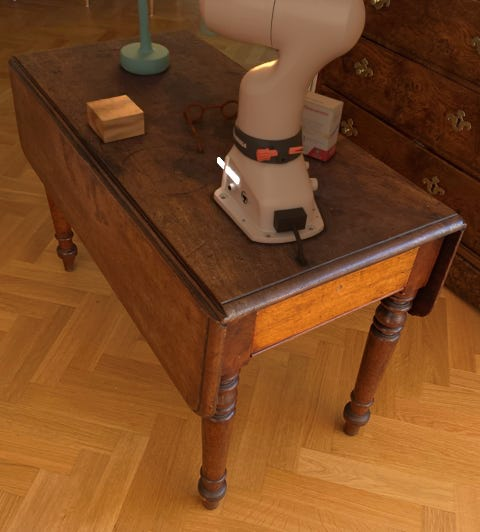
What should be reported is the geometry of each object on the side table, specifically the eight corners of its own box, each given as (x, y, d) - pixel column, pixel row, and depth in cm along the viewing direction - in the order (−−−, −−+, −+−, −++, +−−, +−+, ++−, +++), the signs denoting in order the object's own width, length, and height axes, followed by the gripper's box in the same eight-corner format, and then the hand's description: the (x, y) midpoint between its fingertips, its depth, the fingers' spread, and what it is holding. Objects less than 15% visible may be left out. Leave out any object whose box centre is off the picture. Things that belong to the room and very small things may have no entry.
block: (144, 134, 129) (143, 112, 125) (104, 143, 125) (102, 121, 122) (127, 115, 134) (125, 94, 131) (88, 124, 130) (86, 102, 127)
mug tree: (119, 56, 158) (112, -49, 142) (167, 55, 161) (165, -47, 144) (121, 76, 149) (113, -33, 133) (171, 75, 151) (170, -32, 135)
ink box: (335, 153, 128) (345, 101, 120) (325, 162, 125) (334, 110, 117) (300, 140, 131) (307, 88, 123) (289, 149, 128) (295, 96, 120)
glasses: (239, 117, 137) (240, 96, 134) (258, 146, 128) (260, 124, 125) (182, 123, 133) (182, 102, 130) (198, 153, 124) (199, 131, 121)
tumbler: (227, 35, 145) (229, -9, 139) (203, 36, 144) (204, -8, 137) (219, 26, 149) (221, -17, 143) (196, 27, 148) (197, -16, 141)
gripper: (245, -23, 152) (193, -19, 147) (282, 4, 138) (226, 8, 134) (243, 4, 156) (193, 7, 152) (279, 31, 143) (225, 37, 138)
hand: (208, 8), depth 143 cm, fingers closed on tumbler, 6 cm apart
